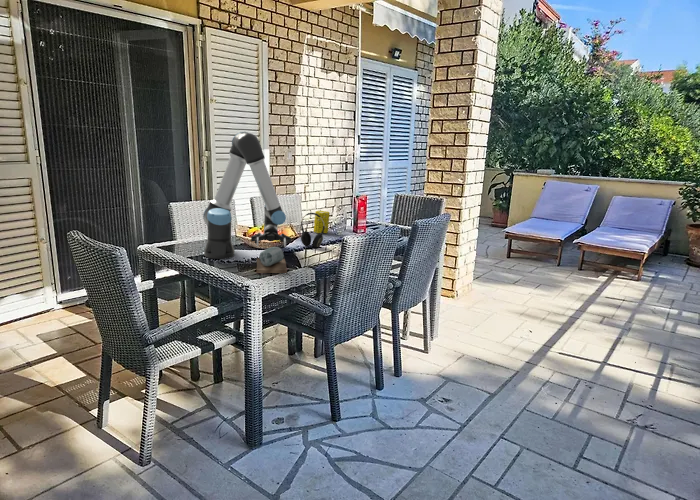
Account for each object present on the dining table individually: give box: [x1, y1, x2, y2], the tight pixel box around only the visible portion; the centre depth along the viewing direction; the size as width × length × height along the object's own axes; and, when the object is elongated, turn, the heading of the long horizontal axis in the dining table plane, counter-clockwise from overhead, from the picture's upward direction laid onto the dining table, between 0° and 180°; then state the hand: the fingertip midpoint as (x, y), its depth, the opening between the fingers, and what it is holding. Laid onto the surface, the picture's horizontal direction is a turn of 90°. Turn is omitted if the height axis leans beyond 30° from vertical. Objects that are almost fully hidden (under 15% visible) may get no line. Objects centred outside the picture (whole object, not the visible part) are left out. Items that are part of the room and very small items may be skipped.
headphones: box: [300, 212, 325, 249], centre depth 266 cm, size 9×15×20 cm, turn 69°
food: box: [313, 209, 330, 234], centre depth 302 cm, size 15×12×10 cm
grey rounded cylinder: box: [258, 246, 285, 267], centre depth 225 cm, size 14×10×10 cm
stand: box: [256, 257, 288, 274], centre depth 226 cm, size 14×18×2 cm
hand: (271, 243), depth 232 cm, fingers open, 13 cm apart
